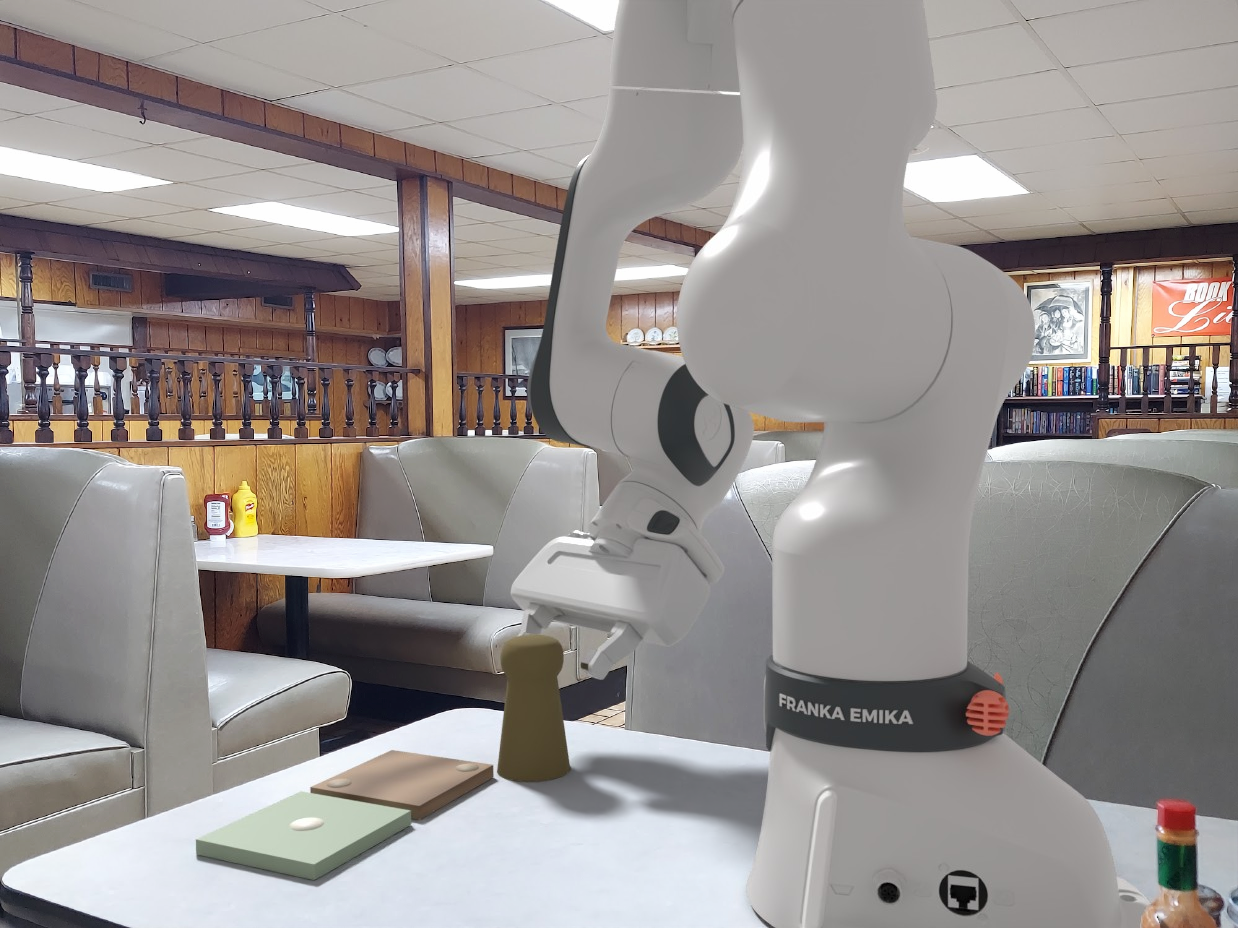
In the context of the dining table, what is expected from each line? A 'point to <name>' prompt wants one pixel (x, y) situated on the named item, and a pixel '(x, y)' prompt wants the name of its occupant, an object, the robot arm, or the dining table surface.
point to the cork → (532, 711)
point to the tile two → (407, 781)
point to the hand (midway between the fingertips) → (553, 664)
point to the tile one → (304, 834)
